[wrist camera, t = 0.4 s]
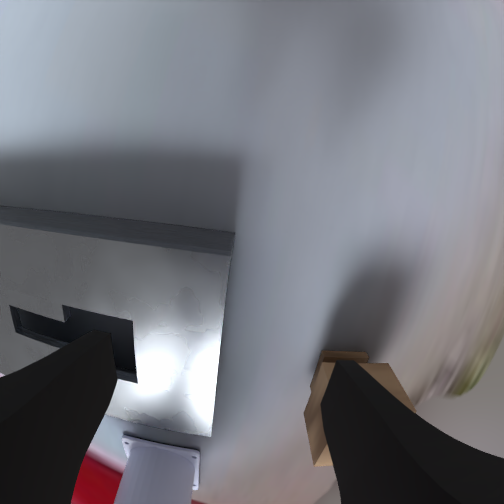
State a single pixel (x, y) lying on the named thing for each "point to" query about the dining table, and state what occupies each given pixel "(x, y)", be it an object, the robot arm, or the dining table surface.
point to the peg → (319, 385)
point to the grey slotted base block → (123, 304)
